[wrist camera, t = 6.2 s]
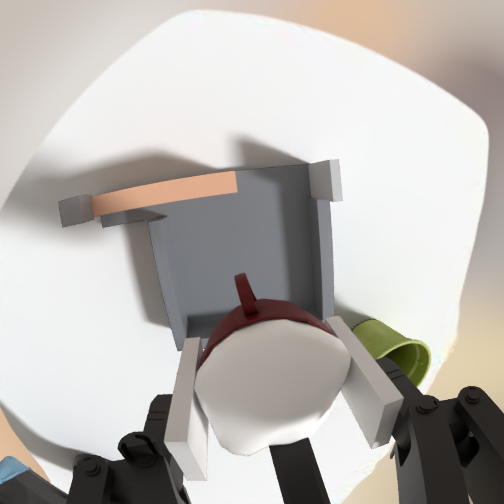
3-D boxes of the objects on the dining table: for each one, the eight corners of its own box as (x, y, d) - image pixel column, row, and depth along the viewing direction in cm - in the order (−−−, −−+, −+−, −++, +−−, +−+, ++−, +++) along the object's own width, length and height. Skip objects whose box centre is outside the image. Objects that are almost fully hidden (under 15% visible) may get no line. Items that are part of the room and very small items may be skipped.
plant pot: (339, 379, 34) (363, 421, 26) (324, 326, 32) (352, 368, 23) (397, 350, 34) (430, 384, 26) (391, 295, 32) (431, 325, 23)
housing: (134, 335, 30) (116, 370, 23) (101, 195, 26) (68, 200, 19) (322, 311, 31) (344, 342, 24) (312, 164, 27) (338, 159, 20)
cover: (100, 215, 25) (59, 228, 17) (97, 196, 25) (55, 202, 17) (235, 192, 26) (239, 196, 18) (232, 171, 25) (235, 166, 18)
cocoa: (211, 254, 14) (130, 495, 2) (335, 267, 14) (525, 421, 2) (202, 405, 15) (184, 585, 3) (301, 409, 16) (352, 573, 4)
